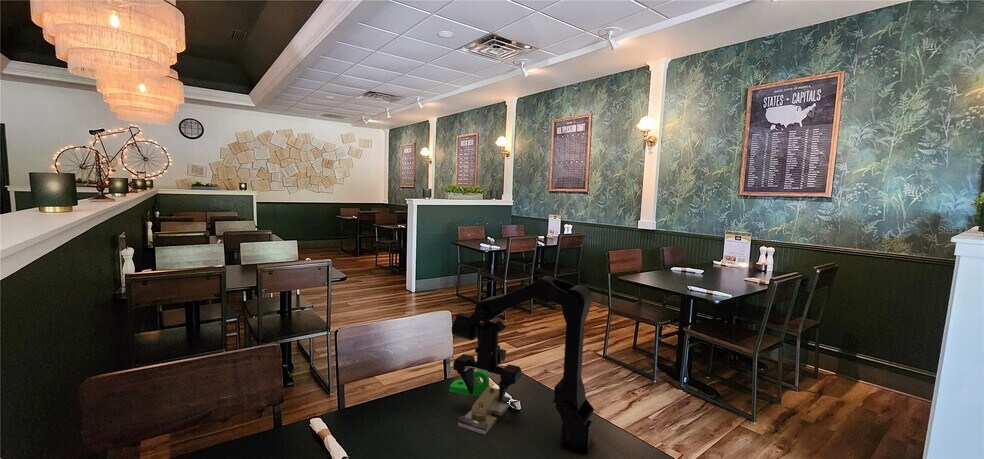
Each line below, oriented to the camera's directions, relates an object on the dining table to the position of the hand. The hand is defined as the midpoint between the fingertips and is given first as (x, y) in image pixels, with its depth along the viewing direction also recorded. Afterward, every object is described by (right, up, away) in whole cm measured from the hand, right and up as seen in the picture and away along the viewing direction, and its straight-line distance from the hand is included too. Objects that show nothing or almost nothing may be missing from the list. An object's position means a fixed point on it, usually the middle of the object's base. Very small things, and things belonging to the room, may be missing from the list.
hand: (486, 397), depth 115 cm
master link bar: (0, -4, 0) cm, 4 cm away
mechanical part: (-5, -4, +14) cm, 15 cm away
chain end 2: (+2, -5, +5) cm, 7 cm away
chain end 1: (-2, -5, -4) cm, 7 cm away
